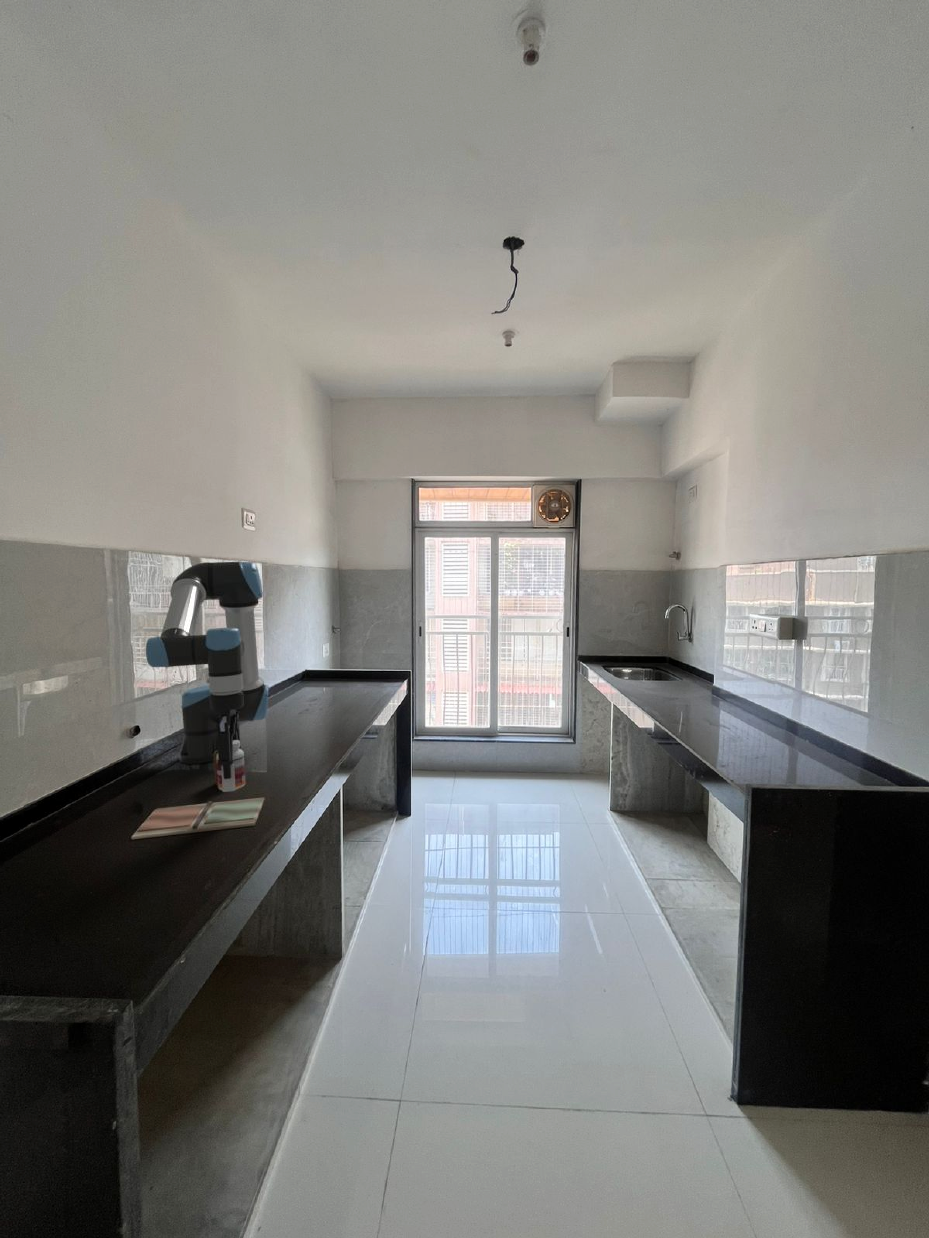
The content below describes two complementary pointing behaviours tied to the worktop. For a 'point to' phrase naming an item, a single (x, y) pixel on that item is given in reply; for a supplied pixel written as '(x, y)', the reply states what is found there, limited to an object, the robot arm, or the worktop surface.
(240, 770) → the pill bottle
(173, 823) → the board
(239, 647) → the robot arm
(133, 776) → the worktop surface
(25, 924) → the worktop surface
